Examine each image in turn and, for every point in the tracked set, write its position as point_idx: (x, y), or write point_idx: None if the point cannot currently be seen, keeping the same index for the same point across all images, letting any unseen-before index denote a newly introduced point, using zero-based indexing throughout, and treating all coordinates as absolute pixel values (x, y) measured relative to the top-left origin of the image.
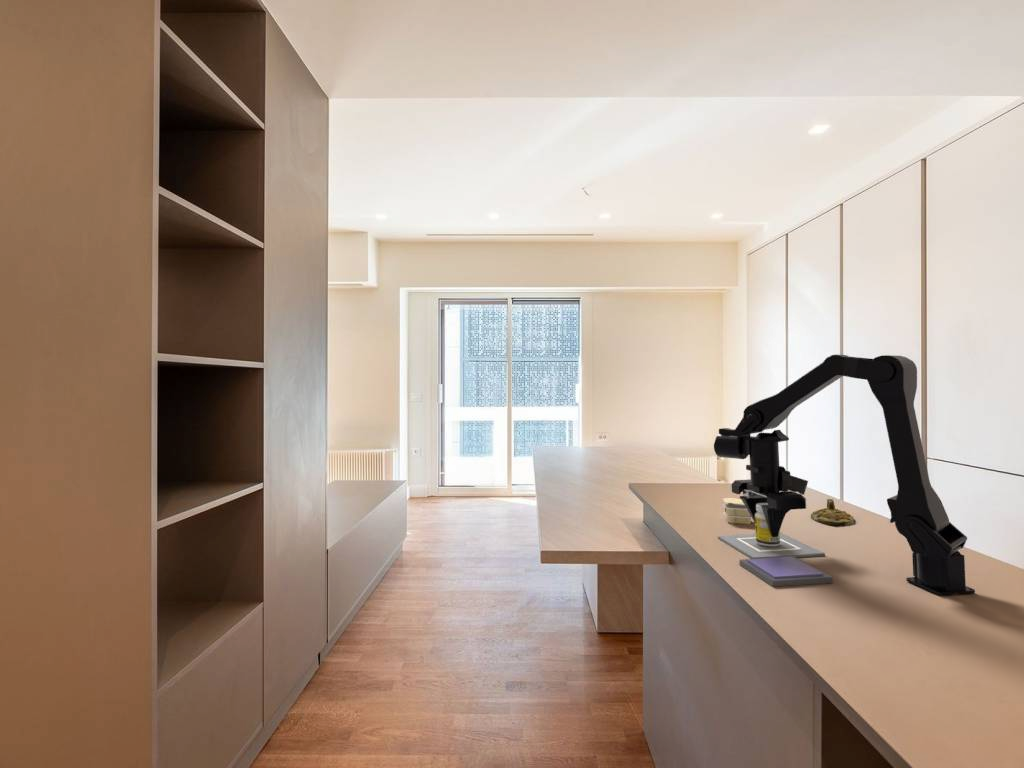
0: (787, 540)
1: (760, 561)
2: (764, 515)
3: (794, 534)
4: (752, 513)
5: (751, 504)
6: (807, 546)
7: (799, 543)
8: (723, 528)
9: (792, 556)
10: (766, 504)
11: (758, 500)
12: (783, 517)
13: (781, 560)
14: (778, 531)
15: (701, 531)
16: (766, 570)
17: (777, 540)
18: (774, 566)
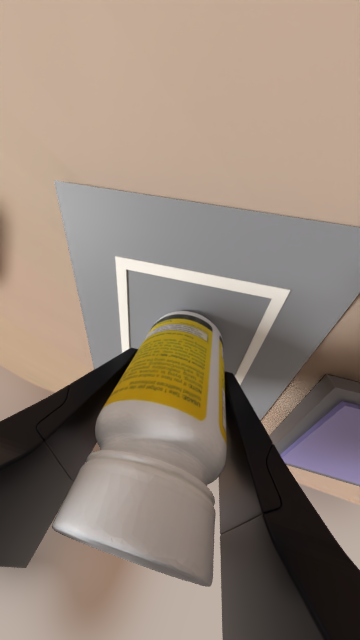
0: (171, 248)
1: (306, 457)
2: (222, 521)
3: (53, 79)
4: (96, 441)
5: (53, 503)
6: (276, 229)
7: (225, 230)
8: (15, 318)
9: (334, 389)
10: (114, 551)
11: (4, 532)
12: (300, 494)
13: (340, 435)
14: (241, 393)
15: (50, 370)
16: (352, 480)
17: (223, 353)
18: (352, 464)
